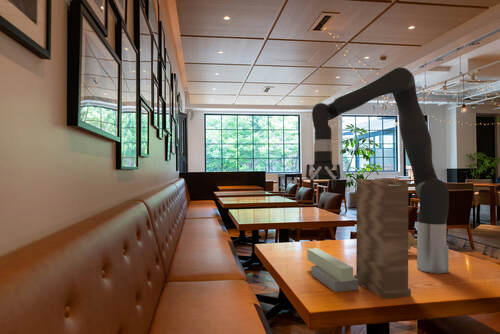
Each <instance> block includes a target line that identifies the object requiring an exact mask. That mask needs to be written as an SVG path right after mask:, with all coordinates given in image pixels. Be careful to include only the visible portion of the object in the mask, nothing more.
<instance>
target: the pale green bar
mask: <svg viewBox="0 0 500 334" xmlns="http://www.w3.org/2000/svg"><path fill="white" fill-rule="evenodd" d="M306 253H307V255H306V256H307V258H306V259H307V261H308V262H310V263H311V264H313V265H314V266H318V267H319V268H321V269H322V270H324V271H325V272H327V273H328V274H330V275H331V276H333V277H334V278H336V279H337V280H339V281H340V282H346V281H353V277H354V267H353V266H351V265H349V264H347V263H345V262H344V261H341V260H340V259H339V258H336V257H334V256H332V255H331V254H329V253H327V252H325V251H323V250H321V249H320V248H318V247H317V248H316V247H315V248H307V251H306Z"/></svg>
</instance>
